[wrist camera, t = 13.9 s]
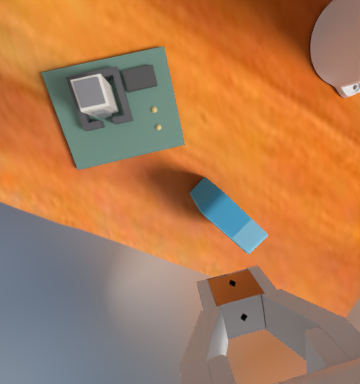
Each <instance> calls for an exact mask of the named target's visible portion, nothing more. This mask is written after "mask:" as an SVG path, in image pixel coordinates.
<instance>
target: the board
mask: <svg viewBox="0 0 360 384" xmlns="http://www.w3.org/2000/svg"><path fill="white" fill-rule="evenodd" d="M41 74H42V76H43V79H44V82H45V84H46V87H47V90H48V92H49V95H50V98H51V100H52V103H53V106H54V108H55V111H56V113H57V116H58V119H59V121H60V124H61V127H62V129H63V132H64V135H65V137H66V140H67V143H68V145H69V148H70V151H71V153H72V156H73V159H74V161H75V164H76V166H77V169H78V170H80V169H85V168H89V167H93V166H97V165H101V164H106V163H110V162H114V161H118V160H122V159H127V158H131V157H135V156H139V155H143V154H148V153H152V152H156V151H160V150H164V149H169V148H173V147H177V146H181V145H185V143H184V138H183V133H182V129H181V124H180V119H179V115H178V110H177V105H176V100H175V96H174V91H173V86H172V82H171V77H170V72H169V68H168V63H167V58H166V53H165V49H164V46H163V47H158V48H153V49H149V50H144V51H139V52H135V53H130V54H125V55H121V56H116V57H111V58H107V59H102V60H97V61H93V62H88V63H83V64H79V65H74V66H69V67H65V68H60V69H55V70H51V71H46V72H41ZM96 74H101V75H102V76H103V77H104V78H105V80H106V81H107V82H108V83H109V84H110V85H111V86H112V89H113V92H114V96H115V99H116V103H117V106H118V110H119V112H116V113H112V116H111V117H107V118H101V117H95V116H92V115H89V114H86V113H83V112H81V110H80V107H79V104H78V101H77V99H76V96H75V93H74V90H73V87H72V84H71V81H70V80H73V79H78V78H82V77H87V76H91V75H96Z"/></svg>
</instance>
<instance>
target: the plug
mask: <svg viewBox="0 0 360 384" xmlns="http://www.w3.org/2000/svg"><path fill="white" fill-rule="evenodd" d="M70 81H71V84H72V87H73V90H74V93H75V96H76V99H77V101H78V104H79V107H80V110H81V112H83V113H86V114H89V115H92V116H95V117H101V118H107V117H111V116H112V113H116V112H119V110H118V106H117V103H116V99H115V96H114V92H113V89H112V86H111V85H110V84H109V83H108V82H107V81H106V80H105V78H104V77H103V76H102V75H101V74H96V75H91V76H87V77H82V78H78V79H73V80H70Z"/></svg>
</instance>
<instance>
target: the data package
mask: <svg viewBox="0 0 360 384" xmlns="http://www.w3.org/2000/svg"><path fill="white" fill-rule="evenodd" d="M190 195H191V197H192V199H193V200H194V202H195V204H196V206H197V207H198V209H199V211H200V212H201V213H202V214H203V215H204V216H205V217H206V218H207V219H208V220H209V221H211V222H212V223H213V224H214V225H215V226H216V227H217V228H219V229H220V230H221V231H222V232H223V233H224V234H225V235H227V236H228V237H229V238H230V239H231V240H232V241H233V242H235V243H236V244H237V245H238V246H239V247H240V248H242V249H243V250H244V251H245V252H246V253H248V254H249V253H251V252H252V251H253V250H254V249H255V248H256V247H257V246H258V245H259V244H260V243H261V242H262V241H263V240H264V239H265V238H266V237H267V236H268V234H267V233H266V232H265V231H264V230H263V229H262V228H261V227H260V226H259V225H258V224H257V223H256V222H254V221H253V220H252V219H251V218H250V217H249V216H248V215H247V214H246V213H245V212H244V211H243V210H242V209H241V208H240V207H239V206H238V205H237V204H236V203H234V202H233V201H232V200H231V199H230V198H229V197H228V196H227V195H226V194H225V193H224V192H223V191H222V190H221V189H219V188H218V187H217V186H216V185H214V184H213V183H212V182H211V181H210V180H208V179H207V178H206V177H204V178H203V179H202V180H201V181H200V182H199V183H198V184H197V185H196V186H195V187H194V189H193V190H192V191H191V192H190Z"/></svg>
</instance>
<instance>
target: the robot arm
mask: <svg viewBox="0 0 360 384" xmlns="http://www.w3.org/2000/svg"><path fill="white" fill-rule="evenodd" d="M310 53H311V60H312V63H313V66H314V68H315V70H316V72H317V74H318V75H319V76H320V77H321V78H322V79H323V80H324V81H325V82H327V83H329V84H331V85H332V86H334V87H335V88H336V90H337V91H338V93H339V94H340V96H342V97H343V98H346V97H349V96H352V95H354V94H356V93H359V92H360V0H332V1H331V2H330V3H329V5H328V6H327V7H326V8H325V9H324V10H323V11H322V13H321V14H320V16H319V18H318V19H317V22H316V24H315V26H314V29H313V32H312V36H311V43H310ZM353 87H354V88H353ZM197 286H198V290H199V294H200V299H201V302H202V307H203V311H201V312H200V315H199V317H198V320H197V323H196V325H195V328H194V330H193V333H192V335H191V338H190V341H189V343H188V346H187V348H186V351H185V354H184V356H183V359H182V361H181V364H180V372H181V383H182V384H236V382H235V379H234V376H233V373H232V370H231V367H230V364H229V361H228V358H227V357H226V351H227V345H228V339H232V338H235V337H237V336H241V335H244V334H247V333H251V332H255V331H259V330H263V329H266V330H267V331H269V332H270V333H271V334H273V335H274V336H275V337H276V338H278V339H279V340H280V341H282V342H283V343H284V344H285V345H287V346H288V347H289V348H291V349H292V350H293V351H295V352H296V353H297V354H298V355H300V356H301V357H302V358H304V359H305V360H306V365H307V374H304V375H301V376H298V377H294V378H291V379H288V380H284V381H281V382H278V383H274V384H360V332H359V331H358V330H357V329H356V328H354V326H353V325H352V324H351V323H350V322H348V320H346V319H345V318H344V317H342V316H339V315H337V314H335V313H333V312H330V311H328V310H326V309H324V308H322V307H319V306H317V305H315V304H313V303H310V302H308V301H306V300H304V299H302V298H299V297H297V296H295V295H293V294H290V293H288V292H286V291H284V290H282V289H279V290H277V289H276V287H275V286H274V285H273V284H272V282H271V281H270V280H269V279H268V277H267V276H266V275H265V274H264V272H263V271H262V270H261V269H260V267H259V266H253V267H250V268H247V269H244V270H240V271H236V272H233V273H229V274H226V275H221V276H217V277H213V278H210V279H206V280H202V281H198V282H197Z"/></svg>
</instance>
